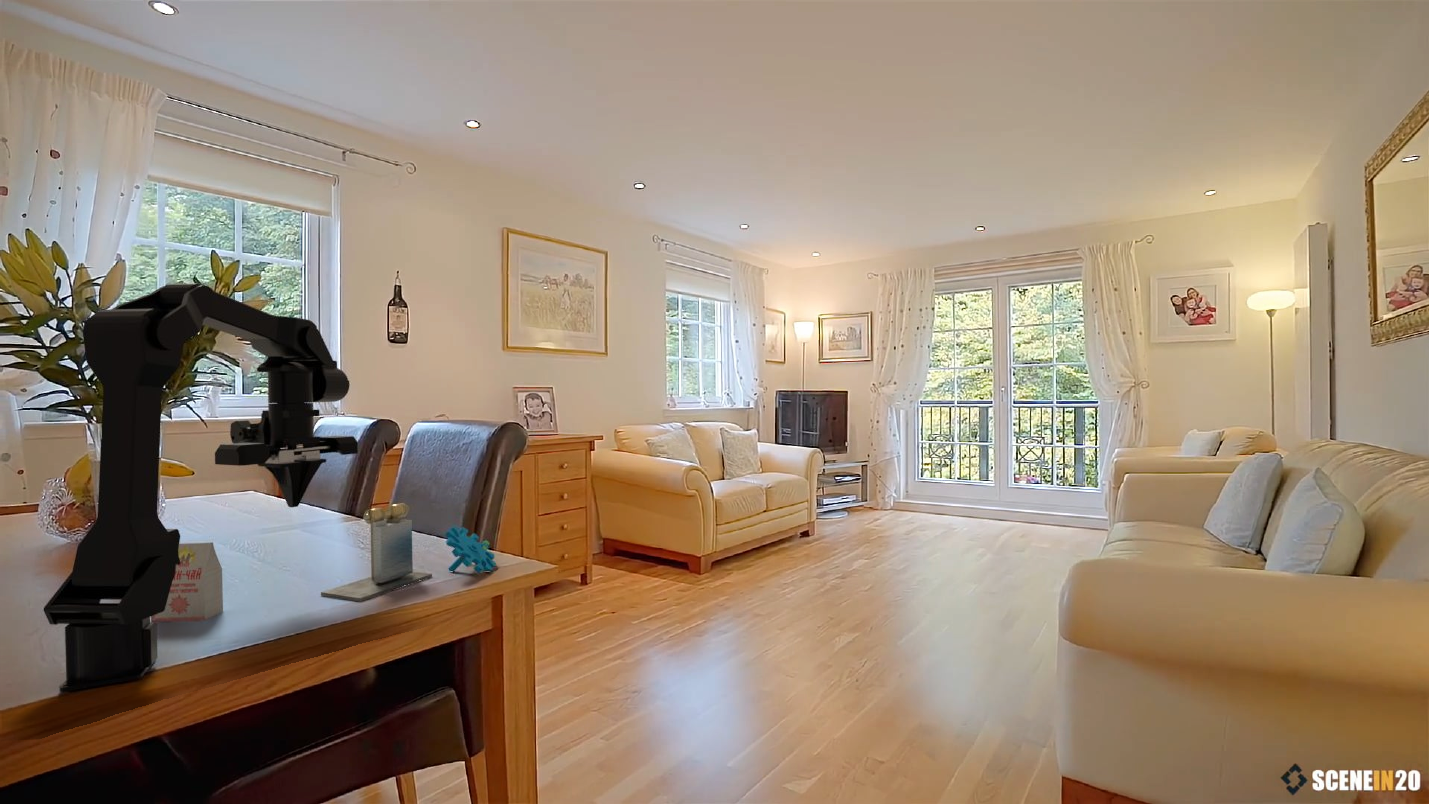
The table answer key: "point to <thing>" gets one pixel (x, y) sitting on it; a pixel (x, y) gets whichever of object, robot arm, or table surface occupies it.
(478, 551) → the teal branched piece
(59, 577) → the table surface
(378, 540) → the brass-capped grey pillar
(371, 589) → the hinge base
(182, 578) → the tea bag
